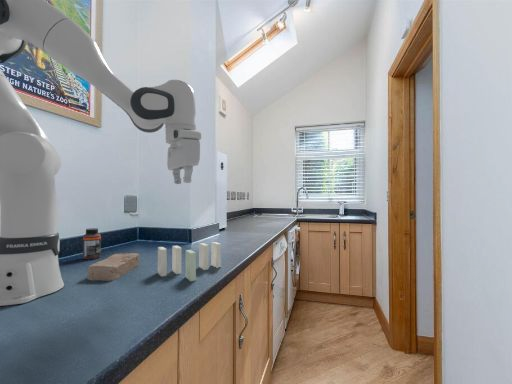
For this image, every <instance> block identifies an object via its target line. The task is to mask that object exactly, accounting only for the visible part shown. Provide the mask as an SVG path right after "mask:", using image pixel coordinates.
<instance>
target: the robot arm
mask: <svg viewBox="0 0 512 384" xmlns="http://www.w3.org/2000/svg"><path fill="white" fill-rule="evenodd" d="M27 42H28V43H30V44H32V45H33V46H35V47H36V48H38V49H39V50H40V51H41V52H43V53H44V54H45V55H47V56H48V57H49V58H51V59H52V60H54V61H55V62H57V64H59V65H61V66H62V67H64V68H65V69H67V70H68V71H70V72H72V73H73V74H74V75H76V76H78V77H79V78H81V79H82V80H84V81H85V82H87V83H88V84H90V85H91V86H93V88H95V89H97V91H99V92H101V93H102V94H103V95H105V97H106V98H108V99H110V100H111V101H112V102H113V103H114V104H116V105H117V106H118V107H119V108H121V109H122V110H123V111H124V112H125V113H126V115H128V117H129V119H130V121H131V122H132V124H133V125H134V126H135V128H136V129H138V130H139V131H141V132H144V133H152V134H153V133H155V132H158V131H160V130H161V129H162V128H163V126H164V125H165V143H166V144H169V145H170V146H169V147H168V149H167V163H166V164H167V169H168V171H172V176H173V183H174V184H175V185H180V184H182V180H183V183H185V184H190V183H192V176H193V171H194V167H195V166H198V165H199V163H200V158H201V143H200V140H201V139H202V132H201V131H199V130H197V126H196V125H197V124H196V122H195V118H196V114H197V113H196V112H197V111H196V99H195V92H194V90H193V87H191V85H190V84H189V83H187V82H185V81H182V80H179V79H170V80H167V81H166V82H164V83H162V84H160V85H156V86H150V87H149V86H142V87H139V88H137V89H136V90H135V91H133V90H132V89H131V88H129V87H128V86H127V85H126V84H125V83H124V82H123V81H121V80H120V79H119V78H118V77H117V75H115V73H114V72H112V70H111V69H110V67H109V66H108V63H107V62H106V60H105V58H104V56H103V54H102V52H101V49H100V48H99V45H98V44H97V42H96V41H95V40H94V39H93V38H92V37H91V36H90V35H89V33H88V32H87V31H86V30H85V29H84V28H83V27H81V25H79V23H77V22H76V21H75V20H73V19H72V18H71V17H69V15H67V14H66V13H65V12H63V11H62V10H61V9H59V8H58V7H56V6H55V5H53V4H51V3H49V2H48V1H47V0H0V64H3V63H6V62H7V61H9V60H10V59H11V60H12V59H13V58H16V57H17V56H19V55H21V54H22V53H24V51H25V49H26V46H27ZM61 167H62V159H61V155H60V153H59V152H58V150H57V149H56V147H55V146H54V144H53V143H52V142H51V140H50V139H49V137H48V136H47V134H46V133H45V131H44V130H43V129H42V127H41V126H40V124H39V123H38V122H37V120H36V119H35V117H34V116H33V115H32V113H31V112H30V111H29V109H28V108H27V106H26V104H25V103H24V102H23V99H21V97H20V96H19V94H18V93H17V91H16V89H15V88H14V87H13V85H12V84H11V82H10V81H9V79H8V78H7V76H6V75H5V73H4V72H3V70H2V68H0V307H1V306H12V305H18V304H26V303H28V302H29V303H30V302H31V301H33V300H35V299H37V298H40V297H43V296H46V295H49V294H52V293H56V292H57V291H59V290H62V288H63V287H64V286H65V283H64V281H63V278H62V273H61V269H60V263H59V253H60V244H61V243H60V238H61V237H60V233H59V232H58V199H57V192H56V180H55V179H56V178H55V177H56V175H57V174H58V172H60V169H61ZM181 170H184V173H183V174H184V175H183V179H182V177H181Z"/></svg>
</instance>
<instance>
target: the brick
mask: <svg viewBox="0 0 512 384" xmlns="http://www.w3.org/2000/svg"><path fill="white" fill-rule="evenodd" d="M139 263H140V253H134V252H132V253H115V254H111V255H110V256H108V257H107V258H105V259H102V260H100V261H95V263H92V264H91V265H88V269H87V277H86V278H87V281H109V282H110V281H115V280H117V279H119V278H121V276H124V275H125V274H127V273H128V272H129V273H130V271H132V270H134V269H135V268H137V267H138V266H139Z"/></svg>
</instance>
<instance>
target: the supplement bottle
mask: <svg viewBox="0 0 512 384" xmlns="http://www.w3.org/2000/svg"><path fill="white" fill-rule="evenodd" d="M101 247H102V235H101V234H100V233H99V229H98V227H92V228H86V229H85V234H83V236H82V259H83V260H96V259H99V258H100V257H101V256H102V255H101V254H102V249H101Z"/></svg>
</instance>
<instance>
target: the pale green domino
mask: <svg viewBox="0 0 512 384" xmlns="http://www.w3.org/2000/svg"><path fill="white" fill-rule="evenodd" d="M184 259H185V275H184V276H185V278H186V279H187V280H188V281H189V282H196V281H197V252H195V251H193V250H192V249H186V250H185V258H184Z"/></svg>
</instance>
